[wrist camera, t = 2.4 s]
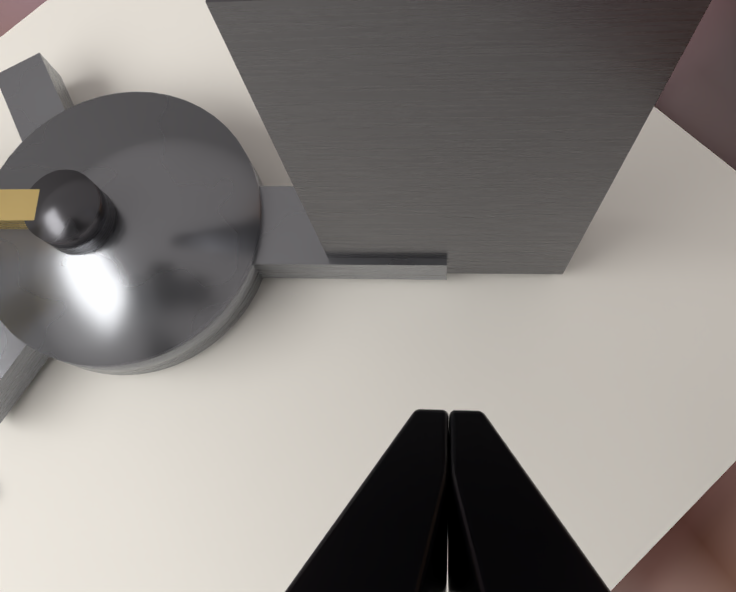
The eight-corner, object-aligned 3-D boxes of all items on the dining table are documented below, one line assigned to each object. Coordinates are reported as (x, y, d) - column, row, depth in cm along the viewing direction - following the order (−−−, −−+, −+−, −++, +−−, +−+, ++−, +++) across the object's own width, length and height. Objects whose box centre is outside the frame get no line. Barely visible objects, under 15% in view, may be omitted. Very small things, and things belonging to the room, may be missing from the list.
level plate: (866, 308, 16) (939, 275, 13) (101, 1099, 13) (29, 1227, 11) (289, -156, 21) (270, -235, 19) (-333, 343, 18) (-443, 322, 16)
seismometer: (-271, 419, 16) (-1073, 333, 8) (-175, 81, 19) (-701, -273, 10) (568, 448, 14) (763, 374, 6) (555, 64, 17) (676, -399, 8)
